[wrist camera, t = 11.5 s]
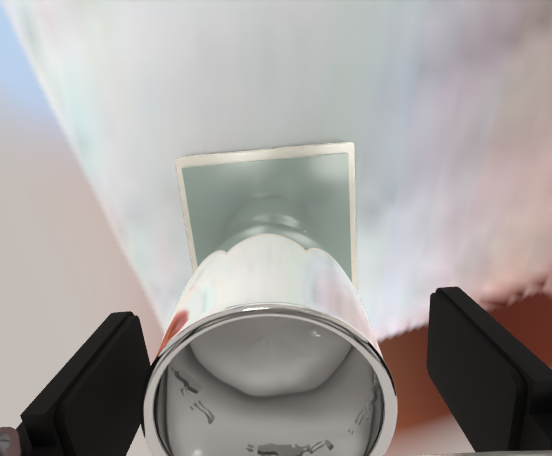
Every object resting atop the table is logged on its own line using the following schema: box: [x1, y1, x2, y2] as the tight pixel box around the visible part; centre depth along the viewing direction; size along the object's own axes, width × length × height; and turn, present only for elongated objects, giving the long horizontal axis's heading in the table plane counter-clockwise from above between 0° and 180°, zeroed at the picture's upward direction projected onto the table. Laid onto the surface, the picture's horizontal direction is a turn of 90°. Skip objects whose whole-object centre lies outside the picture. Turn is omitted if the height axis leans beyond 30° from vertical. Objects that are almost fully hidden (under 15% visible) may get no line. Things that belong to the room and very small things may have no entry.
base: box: [174, 142, 358, 294], centre depth 25 cm, size 12×12×4 cm
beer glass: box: [140, 197, 398, 456], centre depth 16 cm, size 7×7×15 cm
